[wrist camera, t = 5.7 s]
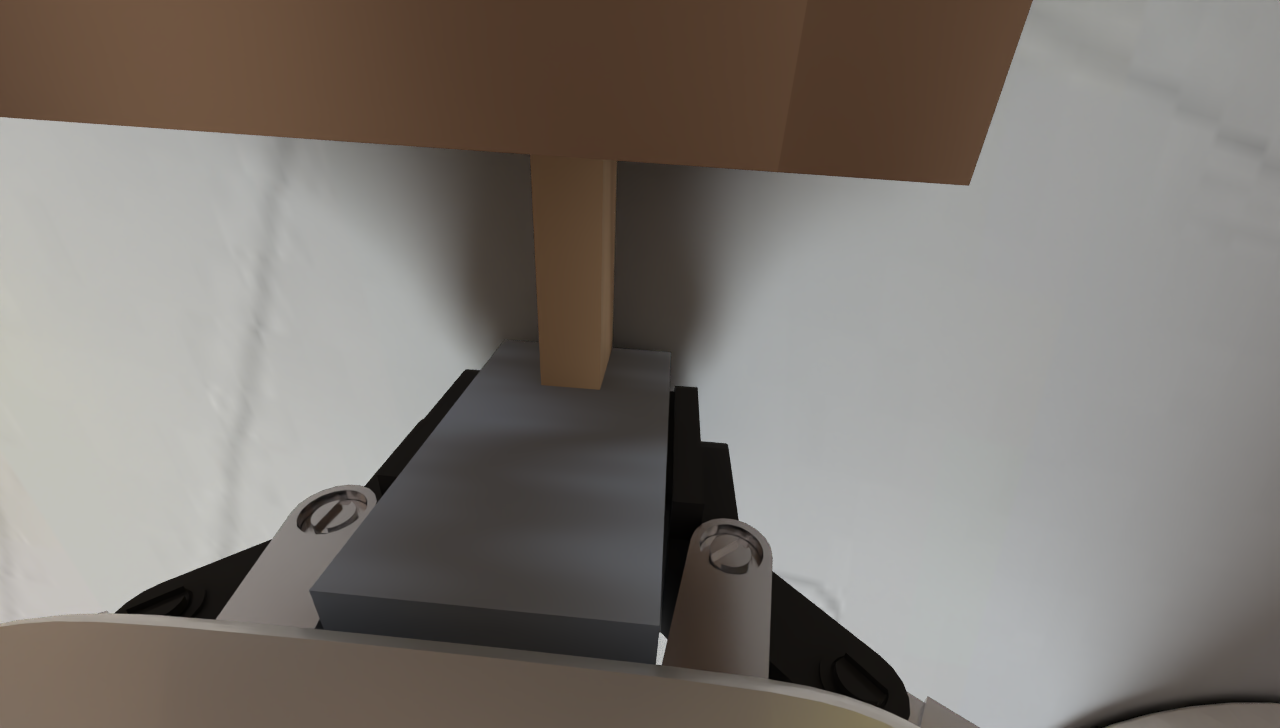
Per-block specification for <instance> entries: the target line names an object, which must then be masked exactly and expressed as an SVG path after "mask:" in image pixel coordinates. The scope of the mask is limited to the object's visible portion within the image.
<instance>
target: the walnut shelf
mask: <svg viewBox="0 0 1280 728" xmlns="http://www.w3.org/2000/svg"><path fill="white" fill-rule="evenodd" d="M1032 1H1033V0H0V117H8V118H22V119H36V120H50V121H64V122H78V123H93V124H107V125H121V126H135V127H149V128H163V129H177V130H191V131H206V132H220V133H234V134H248V135H262V136H276V137H290V138H304V139H318V140H333V141H347V142H361V143H375V144H389V145H403V146H417V147H431V148H446V149H460V150H474V151H488V152H502V153H516V154H530V155H544V156H558V157H573V158H587V159H601V160H615V161H629V162H643V163H657V164H671V165H686V166H700V167H714V168H728V169H742V170H756V171H770V172H784V173H798V174H813V175H827V176H841V177H855V178H869V179H883V180H897V181H911V182H926V183H940V184H954V185H968V186H969V184H970V181H971V178H972V175H973V172H974V170H975V167H976V164H977V161H978V158H979V155H980V152H981V149H982V146H983V143H984V140H985V138H986V135H987V132H988V129H989V126H990V123H991V120H992V117H993V114H994V111H995V108H996V106H997V103H998V100H999V97H1000V94H1001V91H1002V88H1003V85H1004V82H1005V79H1006V76H1007V74H1008V71H1009V68H1010V65H1011V62H1012V59H1013V56H1014V53H1015V50H1016V47H1017V44H1018V42H1019V39H1020V36H1021V33H1022V30H1023V27H1024V24H1025V21H1026V18H1027V15H1028V12H1029V10H1030V7H1031V4H1032Z"/></svg>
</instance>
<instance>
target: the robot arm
mask: <svg viewBox="0 0 1280 728" xmlns="http://www.w3.org/2000/svg"><path fill="white" fill-rule="evenodd" d="M479 372H480V370H469V369H466V370H465V371H464V372H463V373H462V374H461V375H460V377H459V378H458V379H457V380H456V381H455V382H454V384H453V385H452V386H451V387H450V388H449V390H448V391H447V392H446V393H445V394H444V396H443V397H442V398H441V399H440V400H439V401H438V403H437V404H436V405H435V406H434V407H433V409H432V410H431V411H430V412H429V413H428V415H427V416H426V417H425V418H424V419H422V420H421V421H420V422H419V423H418V424H417V425H416V426H415V427H414V429H413V430H412V431H411V432H410V433H409V434H408V436H407V437H406V438H405V439H404V440H403V441H402V443H401V444H400V445H399V446H398V447H397V449H396V450H395V451H394V452H393V453H392V454H391V456H390V457H389V458H388V459H387V460H386V462H385V463H384V464H383V465H382V466H381V467H380V469H379V470H378V471H377V472H376V473H375V475H374V476H373V477H372V478H371V479H370V480H369V482H368V483H367V484H366V485H365V486H364V487H363V486H360V485H343V486H335V487H332V488H329V489H325V490H322V491H320V492H318V493H316V494H314V495H312V496H310V497H308V498H307V499H305V500H304V501H303V502H301V503H300V504H298V505H297V507H296V508H295V509H294V510H293V511H292V512H291V513H290V514H289V516H288V517H287V519H286V520H285V522H284V523H283V524H282V526H281V527H280V529H279V530H278V532H277V533H276V534H275V536H274V537H273V539H271V540H269V541H266V542H264V543H261V544H259V545H256V546H254V547H251V548H249V549H246V550H244V551H241V552H239V553H236V554H233V555H231V556H228V557H226V558H223V559H221V560H218V561H216V562H213V563H211V564H208V565H206V566H203V567H201V568H198V569H196V570H193V571H191V572H188V573H186V574H183V575H181V576H178V577H176V578H173V579H170V580H168V581H165V582H163V583H161V584H158V585H156V586H154V587H152V588H150V589H148V590H146V591H144V592H142V593H141V594H139V595H137V596H136V597H134V598H133V599H131V600H130V601H128V602H127V603H125V604H124V605H123V606H122V607H121V608H120V609H119V610H118V611H116V612H115V613H114V614H112V613H108V611H105V612H101V613H98V614H71V615H59V616H50V617H41V618H32V619H24V620H16V621H11V622H7V623H2V624H0V728H979V727H978V726H976V725H974V724H973V723H971V722H970V721H968V720H966V719H965V718H963V717H961V716H960V715H958V714H956V713H955V712H953V711H951V710H950V709H948V708H946V707H945V706H943V705H941V704H940V703H938V702H937V701H935V700H933V699H932V698H930V697H928V696H927V698H926V700H925V702H923V701H921V700H919V699H918V698H916V697H914V696H913V695H911V694H910V693H908V692H906V689H905V687H904V684H903V682H902V681H901V679H900V678H899V676H898V675H897V673H896V672H895V670H894V669H893V668H892V667H891V666H890V665H889V664H888V663H887V662H886V661H885V660H884V659H883V658H882V657H881V656H880V655H878V654H877V653H876V652H875V651H873V650H872V649H871V648H869V647H868V646H867V645H866V644H864V643H863V642H862V641H861V640H859V639H858V638H857V637H855V636H854V635H853V634H852V633H850V632H849V631H848V630H847V629H845V628H844V627H843V626H841V625H840V624H839V623H838V622H836V621H835V620H834V619H833V618H831V617H830V616H829V615H827V614H826V613H825V612H824V611H822V610H821V609H820V608H819V607H817V606H816V605H815V604H813V603H812V602H811V601H810V600H808V599H807V598H806V597H805V596H803V595H802V594H801V593H799V592H798V591H797V590H796V589H794V588H793V587H792V586H791V585H789V584H788V583H787V582H785V581H784V580H783V579H782V578H780V577H779V576H778V575H777V574H775V573H774V572H773V571H772V562H773V557H772V551H771V547H770V545H769V543H768V542H767V540H766V538H765V537H764V536H763V535H762V534H761V533H760V532H759V531H758V530H756V529H755V528H753V527H752V526H750V525H748V524H746V523H744V522H741V521H739V520H738V513H737V506H736V499H735V491H734V484H733V477H732V470H731V463H730V456H729V449H728V445H727V444H726V443H715V442H703V441H701V438H700V421H699V404H698V388H697V387H685V386H675V388H674V392H673V391H670V392H669V415H668V439H667V463H666V487H665V511H664V534H663V558H662V582H661V606H660V627H659V632H661V633H662V634H663V635H664V636H665V637H666V638H667V639H668V640H667V645H666V649H665V653H664V658H663V662H662V665H654V664H645V663H635V662H626V661H617V660H608V659H599V658H590V657H581V656H572V655H562V654H553V653H544V652H535V651H526V650H516V649H506V648H497V647H487V646H478V645H468V644H459V643H449V642H439V641H430V640H420V639H410V638H400V637H391V636H381V635H371V634H361V633H351V632H341V631H330V630H324V629H323V626H322V623H321V621H320V618H319V615H318V613H317V610H316V607H315V605H314V602H313V599H312V597H311V594H310V591H309V590H310V589H311V587H312V586H313V585H314V583H315V582H316V581H317V580H318V578H319V577H320V576H321V575H322V573H323V572H324V571H325V569H326V568H327V567H328V566H329V564H330V563H331V562H332V560H333V559H334V558H335V557H336V555H337V554H338V553H339V551H340V550H341V549H342V548H343V546H344V545H345V544H346V542H347V541H348V540H349V539H350V537H351V536H352V535H353V533H354V532H355V531H356V530H357V528H358V527H359V526H360V524H361V523H362V522H363V521H364V519H365V518H366V517H367V515H368V514H369V513H370V512H371V510H372V509H373V508H374V506H375V505H376V504H377V503H378V501H379V500H380V499H381V498H382V496H383V495H384V494H385V492H386V491H387V490H388V489H389V487H390V486H391V485H392V483H393V482H394V481H395V480H396V478H397V477H398V476H399V474H400V473H401V472H402V471H403V469H404V468H405V467H406V465H407V464H408V463H409V462H410V460H411V459H412V458H413V456H414V455H415V454H416V453H417V451H418V450H419V449H420V447H421V446H422V445H423V444H424V442H425V441H426V440H427V438H428V437H429V436H430V435H431V433H432V432H433V431H434V429H435V428H436V427H437V426H438V424H439V423H440V422H441V421H442V419H443V418H444V417H445V415H446V414H447V413H448V412H449V410H450V409H451V408H452V406H453V405H454V404H455V403H456V401H457V400H458V399H459V397H460V396H461V395H462V394H463V392H464V391H465V390H466V388H467V387H468V386H469V385H470V383H471V382H472V381H473V379H474V378H475V377H476V376H477V374H478V373H479ZM1104 728H1280V703H1222V704H1211V705H1200V706H1190V707H1185V708H1179V709H1174V710H1168V711H1162V712H1157V713H1151V714H1148V715H1144V716H1140V717H1137V718H1133V719H1129V720H1126V721H1122V722H1119V723H1115V724H1112V725H1109V726H1107V727H1104Z"/></svg>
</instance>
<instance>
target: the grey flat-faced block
mask: <svg viewBox="0 0 1280 728" xmlns="http://www.w3.org/2000/svg"><path fill="white" fill-rule="evenodd" d="M530 166H531V187H532V208H533V228H534V249H535V269H536V290H537V310H538V331H539V342H529V341H516V340H504V341H503V342H502V344H501V345H500V346H499V347H498V349H497V350H496V351H495V352H494V354H493V355H492V356H491V358H490V359H489V360H488V361H487V363H486V364H485V365H484V367H483V368H482V369H481V370H480V372H479V373H478V374H477V376H476V377H475V378H474V379H473V381H472V382H471V383H470V385H469V386H468V387H467V388H466V390H465V391H464V392H463V394H462V395H461V396H460V397H459V399H458V400H457V401H456V403H455V404H454V405H453V406H452V408H451V409H450V410H449V412H448V413H447V414H446V415H445V417H444V418H443V419H442V421H441V422H440V423H439V424H438V426H437V427H436V428H435V429H434V431H433V432H432V433H431V435H430V436H429V437H428V438H427V440H426V441H425V442H424V444H423V445H422V446H421V447H420V449H419V450H418V451H417V453H416V454H415V455H414V456H413V458H412V459H411V460H410V462H409V463H408V464H407V465H406V467H405V468H404V469H403V471H402V472H401V473H400V474H399V476H398V477H397V478H396V480H395V481H394V482H393V483H392V485H391V486H390V487H389V489H388V490H387V491H386V492H385V494H384V495H383V496H382V498H381V499H380V500H379V501H378V503H377V504H376V505H375V506H374V508H373V509H372V510H371V512H370V513H369V514H368V515H367V517H366V518H365V519H364V521H363V522H362V523H361V524H360V526H359V527H358V528H357V530H356V531H355V532H354V533H353V535H352V536H351V537H350V539H349V540H348V541H347V542H346V544H345V545H344V546H343V548H342V549H341V550H340V551H339V553H338V554H337V555H336V557H335V558H334V559H333V560H332V562H331V563H330V564H329V566H328V567H327V568H326V569H325V571H324V572H323V573H322V575H321V576H320V577H319V578H318V580H317V581H316V582H315V583H314V585H313V586H312V587H311V589H310V590H309V591H310V594H311V597H312V599H313V602H314V605H315V607H316V610H317V613H318V615H319V618H320V621H321V623H322V626H323V629H324V630H330V631H341V632H351V633H361V634H371V635H381V636H391V637H400V638H410V639H420V640H430V641H439V642H449V643H459V644H468V645H478V646H487V647H497V648H506V649H516V650H526V651H535V652H544V653H553V654H562V655H572V656H581V657H590V658H599V659H608V660H617V661H626V662H635V663H645V664H654V665H656V656H657V647H658V637H659V627H660V606H661V582H662V558H663V534H664V511H665V487H666V463H667V439H668V415H669V392H670V368H671V352H660V351H647V350H634V349H621V348H612V339H613V300H614V261H615V222H616V183H617V161H615V160H601V159H587V158H573V157H558V156H544V155H530Z"/></svg>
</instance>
